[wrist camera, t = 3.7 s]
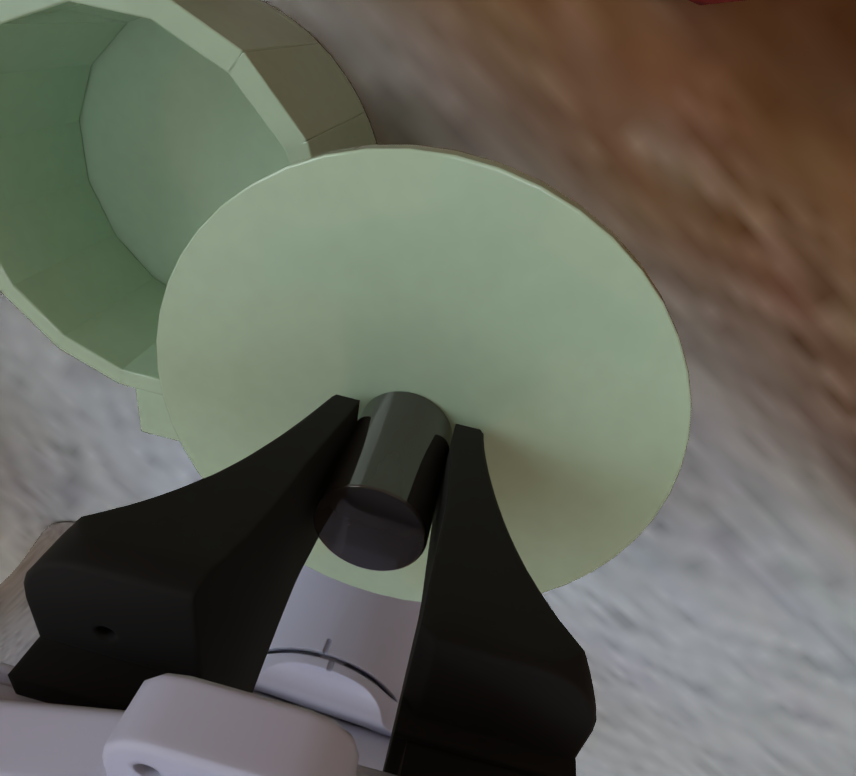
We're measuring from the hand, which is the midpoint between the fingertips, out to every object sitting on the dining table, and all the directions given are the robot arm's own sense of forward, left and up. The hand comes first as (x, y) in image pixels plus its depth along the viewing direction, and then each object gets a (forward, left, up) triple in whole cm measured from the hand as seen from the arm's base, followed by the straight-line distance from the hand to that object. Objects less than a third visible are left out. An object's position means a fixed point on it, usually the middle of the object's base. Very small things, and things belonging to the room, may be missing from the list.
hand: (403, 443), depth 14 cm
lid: (0, 0, -1) cm, 1 cm away
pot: (+2, +10, -10) cm, 14 cm away
